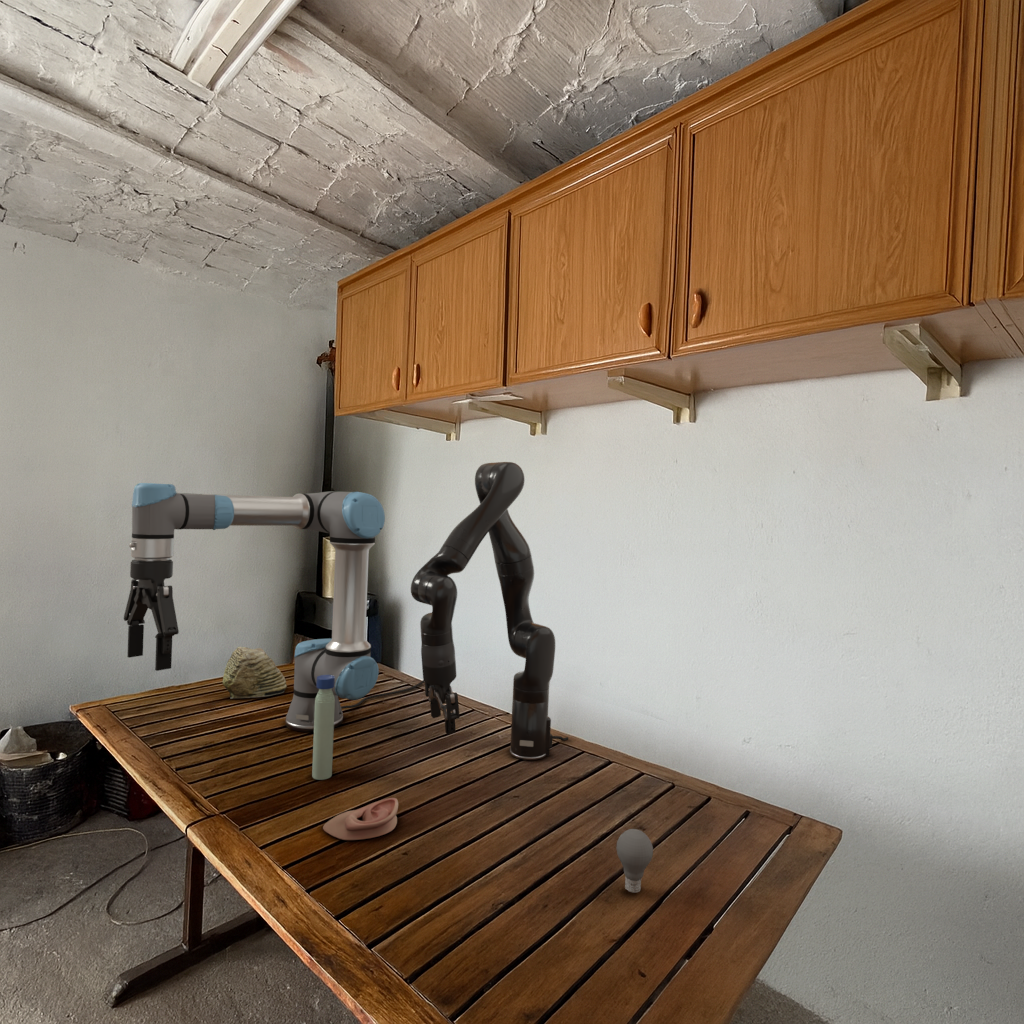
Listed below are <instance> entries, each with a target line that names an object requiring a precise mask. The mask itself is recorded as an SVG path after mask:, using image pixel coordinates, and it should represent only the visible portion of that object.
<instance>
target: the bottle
mask: <svg viewBox="0 0 1024 1024" xmlns="http://www.w3.org/2000/svg"><path fill="white" fill-rule="evenodd" d="M334 708H335V697H334V695H333V691H332V688H331V689H319V691H318V693H317V696H316V698H315V713H314V732H313V740H312V741H313V744H312V768H311V769H312V770H311V778H312V779H313V780H317V781H323V780H327V779H330V778H331V777H332V776H333V761H334V760H333V755H334V733H335V731H334V730H335V728H334Z"/></svg>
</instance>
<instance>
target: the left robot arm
mask: <svg viewBox="0 0 1024 1024" xmlns="http://www.w3.org/2000/svg"><path fill="white" fill-rule="evenodd" d="M385 515H386V513H385V511H384V508H383V505H382V503H381V502H380V501H379V500H378V498H377V497H375V495H373V494H370V493H367V492H363V491H362V492H361V491H337V490H336V491H335V490H333V491H332V490H330V491H321V492H311V493H295V494H294V495H293V496H276V495H275V496H274V495H273V496H272V495H248V494H247V495H246V494H244V495H243V494H220V493H219V494H218V493H217V494H216V493H215V494H214V493H189V492H187V493H186V492H177V491H176V486H175V485H174V484H173V483H152V482H139V483H137V484H136V485H135V486H134V488H133V492H132V501H131V520H132V521H131V542H130V543H128V547H129V548H130V549H131V550H130V556H131V558H133V559H132V560H131V561H130V567H129V568H130V571H129V574H130V575H129V576H130V578H131V581H130V590H129V594H128V598H127V603H126V607H125V610H124V615H123V621H124V622H126V624H127V626H128V629H127V630H128V631H127V658H135V657H142V656H144V635H145V634H144V630H145V625H144V624H145V623H146V621H145V619H144V618H145V616H146V615H147V612H148V609H149V610H151V613H152V618H153V620H154V624H155V627H156V631H157V633H156V635H155V636H154V638H155V661H154V663H155V665H154V668H155V669H154V670H155V671H157V672H159V671H164V670H169V669H172V659H173V657H172V655H173V637H175V636H176V635H179V632H180V631H179V625H178V619H177V615H176V614H177V613H176V609H175V603H174V597H173V595H174V593H173V585H165V580H167V579H171V578H172V577H173V575H174V573H173V572H174V561H173V560H172V559H171V558H173V557H174V554H175V553H174V552H175V530H213V531H215V530H224V529H228V528H230V526H233V527H234V526H237V527H238V526H240V527H243V526H246V527H247V526H249V527H250V526H258V527H259V526H268V527H269V526H276V527H277V526H282V527H284V526H285V527H286V526H287V527H288V526H289V527H290V526H291V527H293V528H294V529H296V530H308V531H309V530H310V531H316V532H319V533H325V534H329V544H330V545H331V546H332V547H333V548H334V550H335V551H334V572H333V573H334V577H333V599H332V625H331V626H332V627H331V638H317V639H308V640H304V641H300V642H299V643H297V645H296V646H295V650H294V655H293V657H294V672H293V673H294V674H293V695H292V696H293V697H292V699H291V702H290V704H289V708H288V711H287V713H286V715H285V726H286V728H287V729H289V730H291V731H294V732H295V731H296V732H301V733H314V713H315V698H316V696H317V693H318V691H319V689H318V688H317V687H316V684H317V677H318V676H321V675H333V676H335V686H334V687H333V688H332V691H333V695H334V697H335V708H334V729H335V728H337V727H339V726H340V725H342V723H343V722H344V714H343V710H344V709H354V708H356V707H358V706H360V705H362V704H363V702H366V701H368V700H370V699H371V700H372V699H374V698H379V697H380V698H381V697H386V696H390V695H394V694H395V695H396V694H401V693H405V692H408V691H411V690H414V689H416V688H418V687H420V686H421V685H423V684H425V681H424V680H423V679H422V681H420V682H418V683H416V684H414V685H413V686H411V687H408V688H404V689H399V690H394V691H390V692H384V693H379V694H378V693H377V694H373V695H369V696H367V695H368V694H370V692H371V690H372V689H374V687H375V685H376V683H377V682H378V678H379V674H380V672H379V671H380V670H379V669H380V668H379V665H378V663H377V662H376V660H375V659H374V657H371V652H372V649H371V648H372V644H371V643H370V642H368V640H367V639H366V631H367V607H368V606H367V605H368V604H367V602H368V582H369V581H368V579H369V555H370V553H369V552H370V550H371V548H372V547H374V545H375V544H376V536H378V535H379V534H380V533H381V530H383V528H384V526H385V522H386V521H385V520H386V516H385ZM365 696H367V697H365ZM339 698H341V699H342V700H343V699H344V700H348V701H349V700H350V701H357V700H360V699H361V700H360V701H359V702H357V703H355V704H350V705H341V702H340V699H339Z"/></svg>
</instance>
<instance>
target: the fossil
mask: <svg viewBox="0 0 1024 1024" xmlns="http://www.w3.org/2000/svg"><path fill="white" fill-rule="evenodd" d="M222 676H223V677H222V685H223V687H224V688H225V690H226V691H228V693H229V698H230V699H250V698H264V697H271V696H275V695H281V694H284V693H285V691H286V689H287V687H288V686H287V680H286V678H285V676H284V674H283V673H282V672H281V669H279V668H278V667H277V665H276V663H275V662H274V660H273V659H272V658H271V657H270V656H269V655H268V654H267V653H266V652H265V650H264V649H263V648H260V647H258V648H251V647H247V646H246V647H245V646H238V647H237V648H236V649H235V650H233V651H232V653H231V656H230V657H229V659H228V660H227V663H226V666H225V668H224V671H223V675H222Z"/></svg>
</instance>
